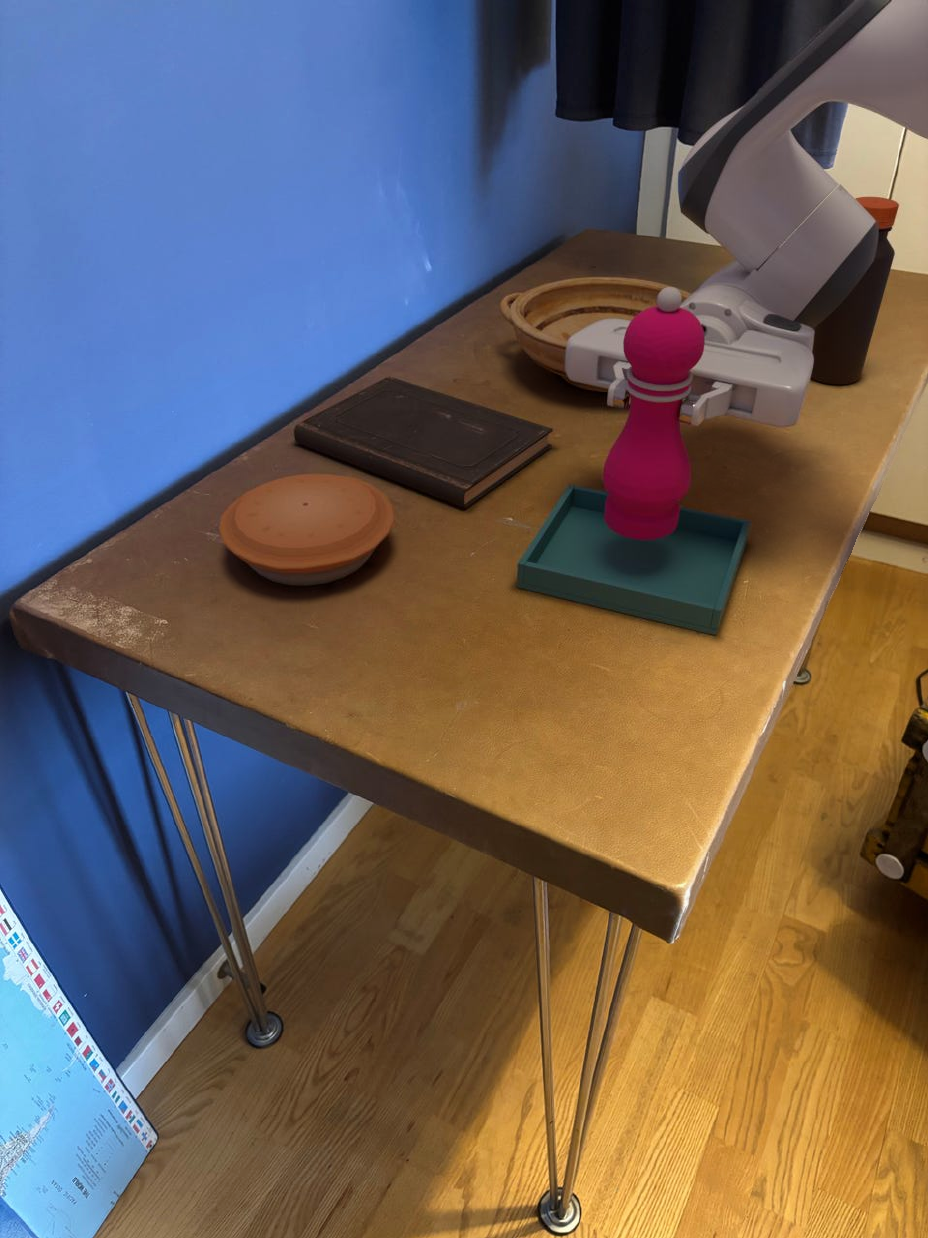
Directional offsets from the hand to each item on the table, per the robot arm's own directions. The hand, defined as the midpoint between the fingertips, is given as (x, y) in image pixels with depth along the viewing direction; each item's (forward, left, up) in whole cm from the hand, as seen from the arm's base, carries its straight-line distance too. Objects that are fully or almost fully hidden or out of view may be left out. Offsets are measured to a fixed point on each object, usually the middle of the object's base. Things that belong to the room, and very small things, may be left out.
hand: (652, 407), depth 71 cm
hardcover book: (+27, -14, -16) cm, 34 cm away
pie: (+28, +8, -16) cm, 33 cm away
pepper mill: (0, -1, -11) cm, 11 cm away
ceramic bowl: (+14, -40, -16) cm, 45 cm away
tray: (0, -1, -16) cm, 16 cm away
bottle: (-12, -50, -16) cm, 54 cm away
